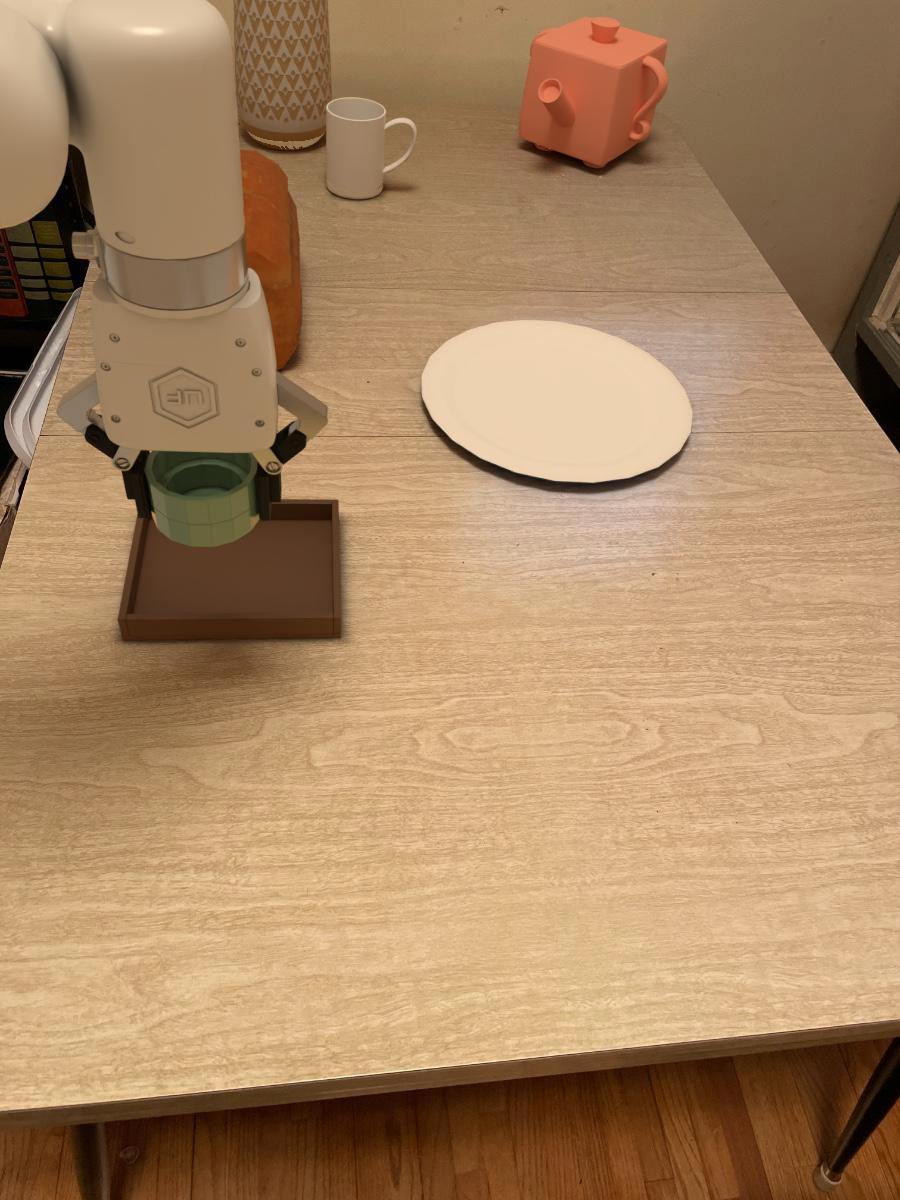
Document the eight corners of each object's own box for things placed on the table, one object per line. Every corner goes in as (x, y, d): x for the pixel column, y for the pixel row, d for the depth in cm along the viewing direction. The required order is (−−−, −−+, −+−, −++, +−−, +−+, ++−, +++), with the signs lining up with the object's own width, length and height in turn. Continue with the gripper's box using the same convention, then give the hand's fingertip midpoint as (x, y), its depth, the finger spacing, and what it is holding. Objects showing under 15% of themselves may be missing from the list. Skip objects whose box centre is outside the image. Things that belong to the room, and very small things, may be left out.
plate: (514, 303, 117) (516, 290, 116) (732, 400, 107) (737, 387, 106) (363, 409, 100) (363, 396, 98) (607, 536, 90) (611, 523, 88)
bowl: (147, 551, 63) (137, 499, 59) (161, 480, 67) (153, 428, 64) (258, 553, 63) (254, 502, 60) (264, 483, 68) (261, 432, 65)
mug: (323, 197, 132) (322, 116, 124) (329, 172, 137) (329, 94, 129) (411, 206, 132) (416, 127, 125) (414, 181, 138) (419, 104, 130)
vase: (219, 133, 143) (198, -120, 120) (287, 111, 150) (279, -130, 128) (283, 165, 137) (274, -94, 115) (350, 141, 145) (354, -106, 123)
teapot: (600, 202, 138) (628, 68, 125) (468, 155, 146) (482, 23, 133) (670, 151, 154) (701, 27, 141) (548, 110, 161) (567, -12, 148)
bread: (298, 253, 121) (295, 121, 109) (305, 376, 103) (302, 235, 91) (165, 250, 118) (147, 115, 106) (148, 376, 100) (125, 230, 89)
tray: (122, 640, 76) (117, 619, 74) (144, 519, 86) (140, 497, 84) (340, 637, 78) (341, 617, 77) (338, 519, 88) (338, 499, 86)
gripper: (-11, 287, 48) (61, 542, 61) (338, 302, 50) (336, 546, 63) (23, 217, 53) (83, 466, 66) (339, 234, 55) (337, 473, 68)
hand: (207, 504), depth 65 cm, fingers closed on bowl, 7 cm apart
